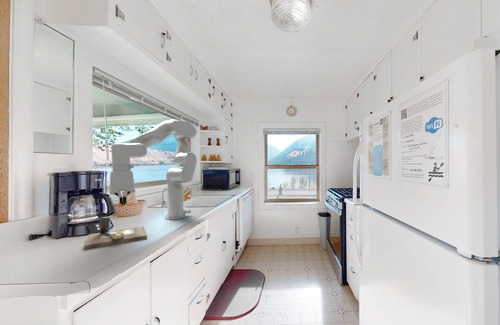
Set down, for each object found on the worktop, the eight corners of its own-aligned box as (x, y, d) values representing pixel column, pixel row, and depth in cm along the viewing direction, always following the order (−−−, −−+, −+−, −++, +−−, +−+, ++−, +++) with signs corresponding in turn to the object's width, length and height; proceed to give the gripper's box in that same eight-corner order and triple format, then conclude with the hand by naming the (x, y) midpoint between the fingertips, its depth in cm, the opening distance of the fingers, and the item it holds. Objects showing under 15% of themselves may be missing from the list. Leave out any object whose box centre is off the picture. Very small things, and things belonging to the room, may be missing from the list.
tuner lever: (125, 237, 88) (126, 220, 88) (114, 240, 84) (115, 223, 84) (108, 231, 96) (108, 216, 96) (97, 234, 93) (97, 218, 93)
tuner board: (143, 229, 105) (143, 226, 105) (146, 238, 91) (147, 234, 91) (89, 237, 93) (89, 233, 93) (84, 249, 79) (84, 245, 80)
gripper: (137, 167, 108) (139, 201, 109) (103, 168, 100) (105, 205, 101) (139, 167, 102) (140, 204, 103) (102, 169, 94) (104, 208, 94)
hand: (123, 204), depth 102 cm, fingers closed
